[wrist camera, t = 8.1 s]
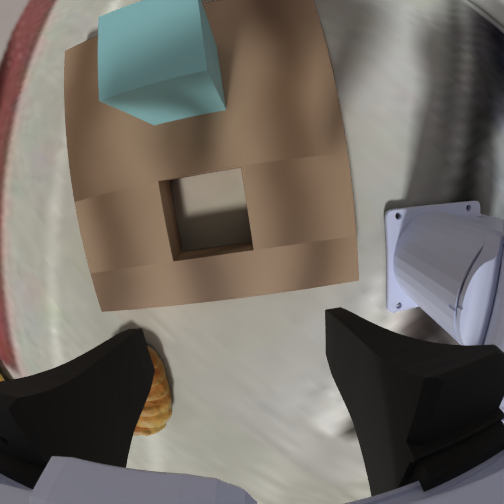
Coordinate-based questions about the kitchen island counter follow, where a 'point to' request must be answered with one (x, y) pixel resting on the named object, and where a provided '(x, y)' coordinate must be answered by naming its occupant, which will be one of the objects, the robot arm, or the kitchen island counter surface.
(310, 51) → the walnut pocket plate
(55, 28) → the kitchen island counter surface
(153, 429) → the pastry
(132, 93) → the teal block
